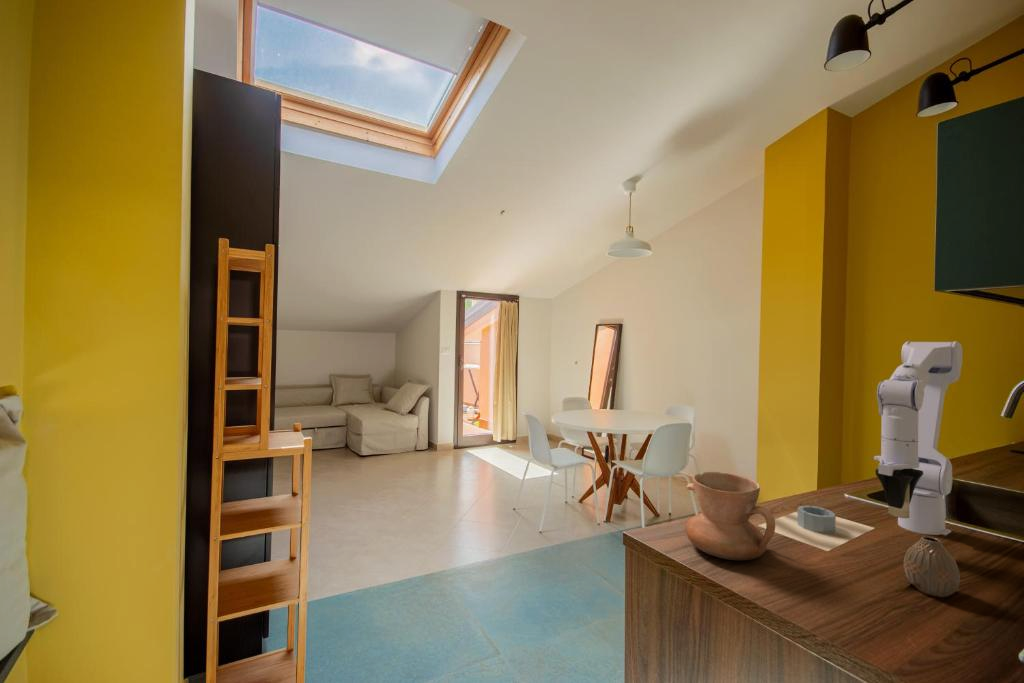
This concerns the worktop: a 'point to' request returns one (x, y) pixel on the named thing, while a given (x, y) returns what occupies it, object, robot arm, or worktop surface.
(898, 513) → the wick peg
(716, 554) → the ceramic jug
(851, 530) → the board
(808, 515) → the grey faceted ring
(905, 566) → the vase
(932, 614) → the worktop surface
